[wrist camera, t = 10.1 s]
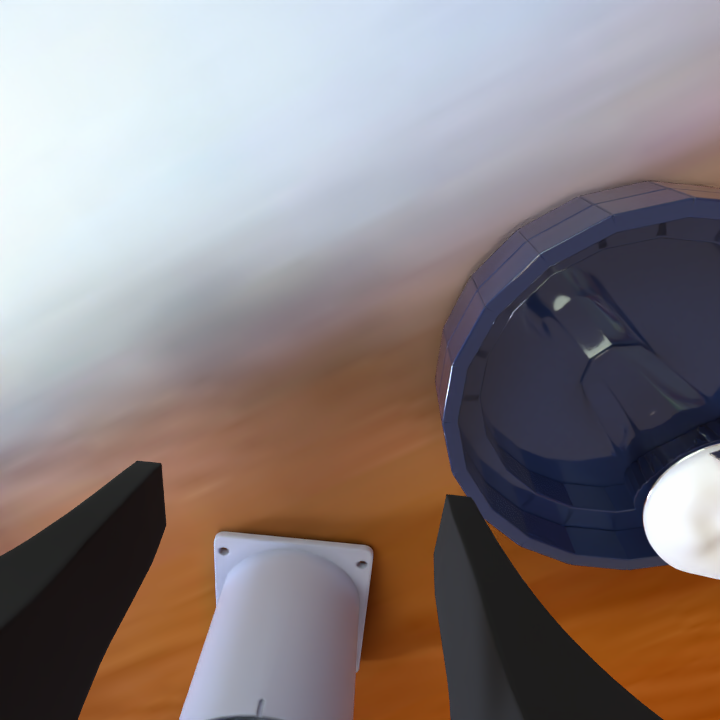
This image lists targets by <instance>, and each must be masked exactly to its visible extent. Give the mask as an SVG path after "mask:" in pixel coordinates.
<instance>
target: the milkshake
mask: <svg viewBox="0 0 720 720" xmlns="http://www.w3.org/2000/svg"><path fill="white" fill-rule="evenodd" d="M581 383H582V387H583V390H584V393H585V397H586V400H587V404H588V406H589V408H590V410H591V412H592V414H593V416H594V419H595V421H596V423H597V425H598V427H599V429H600V431H601V433H602V435H603V437H604V439H605V442H606V444H607V446H608V448H609V450H610V452H611V454H612V456H613V458H614V460H615V463H616V465H617V467H618V469H619V471H620V473H621V475H622V478H623V481H624V483H625V486H626V488H627V491H628V493H629V496H630V498H631V500H632V503H633V505H634V507H635V510H636V512H637V514H638V517H639V519H640V522H641V524H642V526H643V529H644V531H645V533H646V536H647V538H648V541H649V543H650V544H651V546H652V548H653V549H654V550H655V552H656V553H657V554H658V555H659V556H660V557H661V558H662V559H663V560H664V561H665V562H666V563H668V564H669V565H670V566H672V567H674V568H676V569H678V570H681V571H684V572H688V573H692V574H696V575H701V576H706V577H710V578H714V579H720V403H719V402H718V401H717V400H715V399H714V398H713V397H712V396H710V395H709V394H708V393H706V392H705V391H704V390H702V389H701V388H700V387H699V386H697V385H696V384H695V383H693V382H692V381H691V380H689V379H688V378H687V377H685V376H684V375H683V374H682V373H680V372H679V371H678V370H676V369H675V368H674V367H672V366H671V365H670V364H669V363H667V362H666V361H665V360H663V359H662V358H661V357H659V356H657V355H656V354H654V353H653V352H651V351H649V350H648V349H646V348H645V347H643V346H642V345H625V346H613V347H611V348H610V349H608V350H607V351H605V352H604V353H602V354H601V355H599V356H598V357H596V358H595V359H593V360H591V362H590V364H589V367H588V369H587V371H586V373H585V375H584V377H583V380H582V382H581Z"/></svg>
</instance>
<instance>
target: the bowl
mask: <svg viewBox="0 0 720 720" xmlns="http://www.w3.org/2000/svg"><path fill="white" fill-rule="evenodd" d="M625 345H642V346H643V347H645V348H646V349H648V350H649V351H651V352H653V353H654V354H656V355H657V356H659V357H661V358H662V359H663V360H665V361H666V362H667V363H669V364H670V365H671V366H672V367H674V368H675V369H676V370H678V371H679V372H680V373H682V374H683V375H684V376H685V377H687V378H688V379H689V380H691V381H692V382H693V383H695V384H696V385H697V386H699V387H700V388H701V389H702V390H704V391H705V392H706V393H708V394H709V395H710V396H712V397H713V398H714V399H715V400H717V401H718V402H719V403H720V189H718V188H715V187H708V186H698V185H687V184H677V183H666V182H655V181H648V182H647V181H645V182H640V183H635V184H631V185H626V186H622V187H617V188H613V189H608V190H604V191H599V192H595V193H590V194H586V195H581V196H579V197H576V198H574V199H573V200H571V201H569V202H567V203H565V204H563V205H562V206H560V207H558V208H556V209H554V210H552V211H551V212H549V213H547V214H545V215H543V216H542V217H540V218H538V219H536V220H534V221H532V222H531V223H529V224H527V225H525V226H523V227H522V228H520V229H519V230H518V231H516V232H515V233H514V234H513V235H512V236H511V237H510V238H509V239H508V240H507V241H506V242H505V243H504V244H503V245H502V246H501V247H500V248H499V249H498V250H497V251H496V252H495V253H494V254H493V255H492V256H491V257H490V258H489V259H488V260H487V261H486V262H485V263H484V264H483V265H482V266H481V267H480V268H479V269H478V270H477V271H476V272H475V273H474V274H473V275H472V276H471V277H470V278H469V280H468V282H467V284H466V286H465V288H464V290H463V292H462V294H461V295H460V297H459V299H458V301H457V303H456V305H455V307H454V309H453V310H452V312H451V314H450V316H449V318H448V320H447V322H446V324H445V326H444V329H443V333H442V339H441V345H440V351H439V357H438V364H437V370H436V376H435V384H436V390H437V396H438V402H439V408H440V415H441V421H442V426H443V431H444V436H445V441H446V446H447V451H448V456H449V461H450V466H451V471H452V473H453V476H454V477H455V479H456V480H457V482H458V483H459V485H460V486H461V488H462V489H463V491H464V493H465V494H466V496H467V497H471V498H472V499H473V500H474V502H475V504H476V506H477V507H478V509H479V511H480V513H481V515H482V516H483V518H484V519H485V520H486V521H487V522H489V523H490V524H491V525H493V526H494V527H495V528H497V529H498V530H499V531H501V532H502V533H503V534H505V535H506V536H507V537H508V538H510V539H511V540H512V541H514V542H515V543H516V544H518V545H519V546H521V547H523V548H526V549H529V550H531V551H534V552H537V553H540V554H542V555H545V556H548V557H550V558H553V559H556V560H559V561H561V562H564V563H567V564H571V565H578V566H588V567H599V568H609V569H619V570H633V569H641V568H649V567H657V566H665V565H669V564H668V563H666V562H665V561H664V560H663V559H662V558H661V557H660V556H659V555H658V554H657V553H656V552H655V550H654V549H653V548H652V546H651V544H650V543H649V541H648V538H647V536H646V533H645V531H644V529H643V526H642V524H641V522H640V519H639V517H638V514H637V512H636V510H635V507H634V505H633V503H632V500H631V498H630V496H629V493H628V491H627V488H626V486H625V483H624V481H623V478H622V475H621V473H620V471H619V469H618V467H617V465H616V463H615V460H614V458H613V456H612V454H611V452H610V450H609V448H608V446H607V444H606V442H605V439H604V437H603V435H602V433H601V431H600V429H599V427H598V425H597V423H596V421H595V419H594V416H593V414H592V412H591V410H590V408H589V406H588V404H587V400H586V397H585V393H584V390H583V387H582V383H581V382H582V380H583V377H584V375H585V373H586V371H587V369H588V367H589V364H590V362H591V360H593V359H595V358H596V357H598V356H599V355H601V354H602V353H604V352H605V351H607V350H608V349H610V348H611V347H613V346H625Z"/></svg>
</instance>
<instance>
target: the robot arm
mask: <svg viewBox="0 0 720 720" xmlns="http://www.w3.org/2000/svg"><path fill="white" fill-rule="evenodd" d="M165 527H166V515H165V503H164V490H163V478H162V465H161V463H154V462H144V461H136V462H135V463H134V464H132V465H131V466H130V467H128V468H127V469H126V470H124V471H123V472H122V473H120V474H119V475H118V476H116V477H115V478H114V479H113V480H111V481H110V482H109V483H107V484H106V485H105V486H104V487H102V488H101V489H100V490H98V491H97V492H96V493H94V494H93V495H92V496H90V497H89V498H88V499H86V500H85V501H84V502H82V503H81V504H80V505H78V506H77V507H76V508H74V509H73V510H71V511H70V512H69V513H67V514H66V515H64V516H63V517H62V518H60V519H59V520H57V521H56V522H54V523H53V524H51V525H50V526H48V527H47V528H45V529H44V530H42V531H41V532H39V533H38V534H37V535H35V536H33V537H32V538H30V539H29V540H27V541H26V542H24V543H22V544H21V545H19V546H17V547H16V548H14V549H12V550H11V551H9V552H7V553H5V554H4V555H2V556H0V720H78V717H79V715H80V712H81V709H82V707H83V704H84V702H85V699H86V697H87V695H88V692H89V690H90V687H91V685H92V682H93V680H94V678H95V675H96V673H97V670H98V668H99V665H100V663H101V661H102V659H103V657H104V655H105V653H106V650H107V648H108V646H109V644H110V642H111V640H112V639H113V637H114V635H115V633H116V631H117V629H118V627H119V625H120V623H121V622H122V620H123V618H124V616H125V614H126V612H127V610H128V608H129V606H130V605H131V603H132V601H133V599H134V597H135V595H136V593H137V591H138V589H139V587H140V585H141V584H142V582H143V580H144V578H145V576H146V574H147V572H148V570H149V568H150V566H151V564H152V562H153V559H154V557H155V554H156V552H157V549H158V547H159V544H160V541H161V538H162V536H163V533H164V530H165ZM223 547H224V548H227V549H223ZM214 558H215V584H216V610H215V613H214V616H213V619H212V622H211V625H210V628H209V631H208V634H207V637H206V640H205V643H204V646H203V649H202V652H201V655H200V658H199V661H198V664H197V667H196V670H195V673H194V676H193V679H192V682H191V685H190V688H189V691H188V694H187V697H186V700H185V703H184V706H183V709H182V712H181V715H180V718H179V720H353V712H354V694H355V676H356V672H358V670H359V665H360V657H361V649H362V641H363V633H364V626H365V618H366V610H367V602H368V594H369V586H370V579H371V571H372V563H373V550H372V548H371V547H369V546H367V545H360V544H350V543H340V542H330V541H319V540H309V539H299V538H289V537H278V536H268V535H258V534H247V533H237V532H227V531H222V532H219V533H218V534H217V535H216V537H215V539H214ZM360 561H365V563H361V562H360ZM434 583H435V598H436V605H437V612H438V619H439V626H440V633H441V640H442V647H443V653H444V660H445V667H446V674H447V681H448V690H449V699H450V716H451V720H663V719H662V718H660V717H659V716H658V715H657V714H655V713H654V712H653V711H651V710H650V709H649V708H648V707H646V706H645V705H644V704H642V703H641V702H640V701H639V700H637V699H636V698H635V697H634V696H633V695H632V694H630V693H629V692H628V691H627V690H626V689H625V688H623V687H622V686H621V685H620V684H619V683H618V682H617V681H615V680H614V679H613V678H612V677H611V676H610V675H609V674H608V673H607V672H605V671H604V670H603V669H602V668H601V667H600V666H599V665H598V664H597V663H596V662H595V661H594V660H593V659H592V658H591V657H590V656H589V655H588V654H587V653H586V652H585V651H584V650H583V649H582V648H581V647H580V646H579V645H578V644H577V643H576V642H575V641H574V640H573V639H572V638H571V637H570V636H569V635H568V634H567V633H566V632H565V631H564V630H563V629H562V628H561V626H560V625H559V624H558V623H557V622H556V621H555V619H554V618H553V617H552V616H551V615H550V614H549V612H548V611H547V610H546V609H545V608H544V606H543V605H542V604H541V603H540V601H539V600H538V599H537V598H536V596H535V595H534V594H533V592H532V591H531V590H530V588H529V587H528V586H527V584H526V583H525V582H524V580H523V579H522V578H521V576H520V575H519V573H518V572H517V570H516V569H515V568H514V566H513V565H512V563H511V562H510V560H509V559H508V557H507V556H506V554H505V552H504V551H503V549H502V548H501V546H500V545H499V543H498V542H497V540H496V538H495V537H494V535H493V533H492V532H491V530H490V528H489V527H488V525H487V523H486V522H485V520H484V518H483V516H482V515H481V513H480V511H479V509H478V507H477V506H476V504H475V502H474V500H473V499H472V498H471V497H466V496H456V495H446V500H445V504H444V509H443V514H442V518H441V523H440V528H439V532H438V537H437V541H436V546H435V551H434Z"/></svg>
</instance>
